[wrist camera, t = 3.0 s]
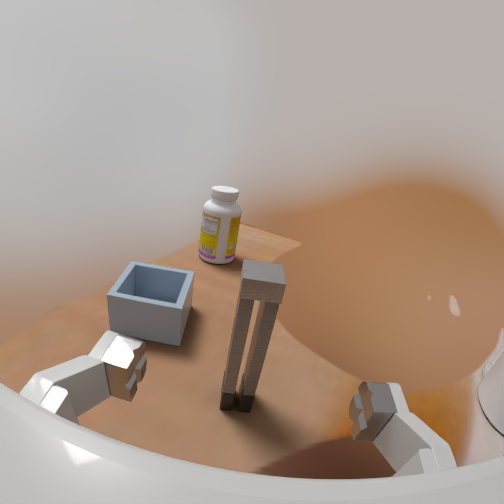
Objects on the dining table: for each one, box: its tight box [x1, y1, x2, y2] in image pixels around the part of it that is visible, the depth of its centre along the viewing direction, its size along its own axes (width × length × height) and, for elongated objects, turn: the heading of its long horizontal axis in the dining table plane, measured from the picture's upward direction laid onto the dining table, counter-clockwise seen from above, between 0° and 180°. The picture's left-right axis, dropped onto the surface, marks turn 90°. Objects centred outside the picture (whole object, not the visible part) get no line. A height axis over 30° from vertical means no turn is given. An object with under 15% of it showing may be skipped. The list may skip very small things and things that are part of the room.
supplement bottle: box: [199, 186, 241, 264], centre depth 55 cm, size 7×7×13 cm
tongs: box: [220, 259, 286, 412], centre depth 25 cm, size 3×3×14 cm
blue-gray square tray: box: [107, 261, 195, 346], centre depth 36 cm, size 9×9×5 cm
